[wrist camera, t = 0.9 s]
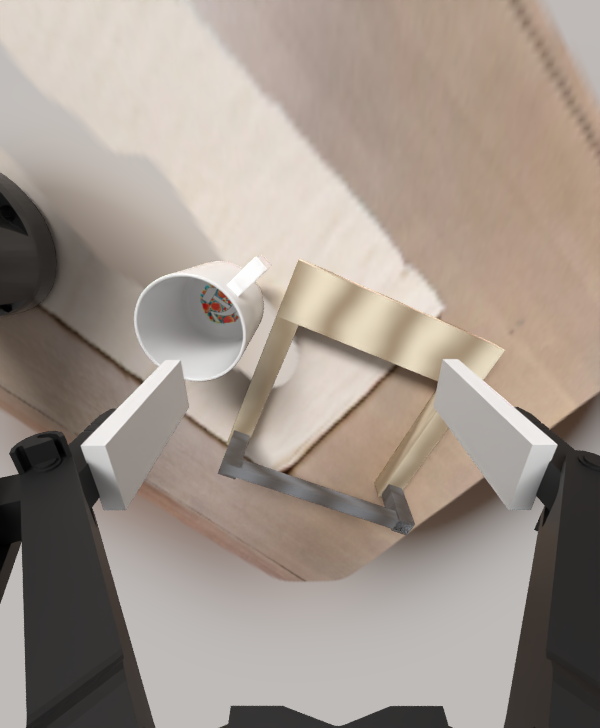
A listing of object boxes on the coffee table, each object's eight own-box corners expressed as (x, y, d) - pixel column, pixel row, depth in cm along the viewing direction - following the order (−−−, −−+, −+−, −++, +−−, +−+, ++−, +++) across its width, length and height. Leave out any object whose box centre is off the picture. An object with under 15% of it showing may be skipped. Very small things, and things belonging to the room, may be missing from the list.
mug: (227, 353, 37) (195, 400, 27) (169, 297, 35) (110, 326, 25) (303, 286, 34) (299, 311, 24) (244, 219, 31) (212, 213, 21)
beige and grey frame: (230, 432, 42) (214, 476, 34) (299, 258, 33) (296, 266, 25) (390, 487, 45) (405, 538, 37) (492, 342, 36) (539, 371, 28)
